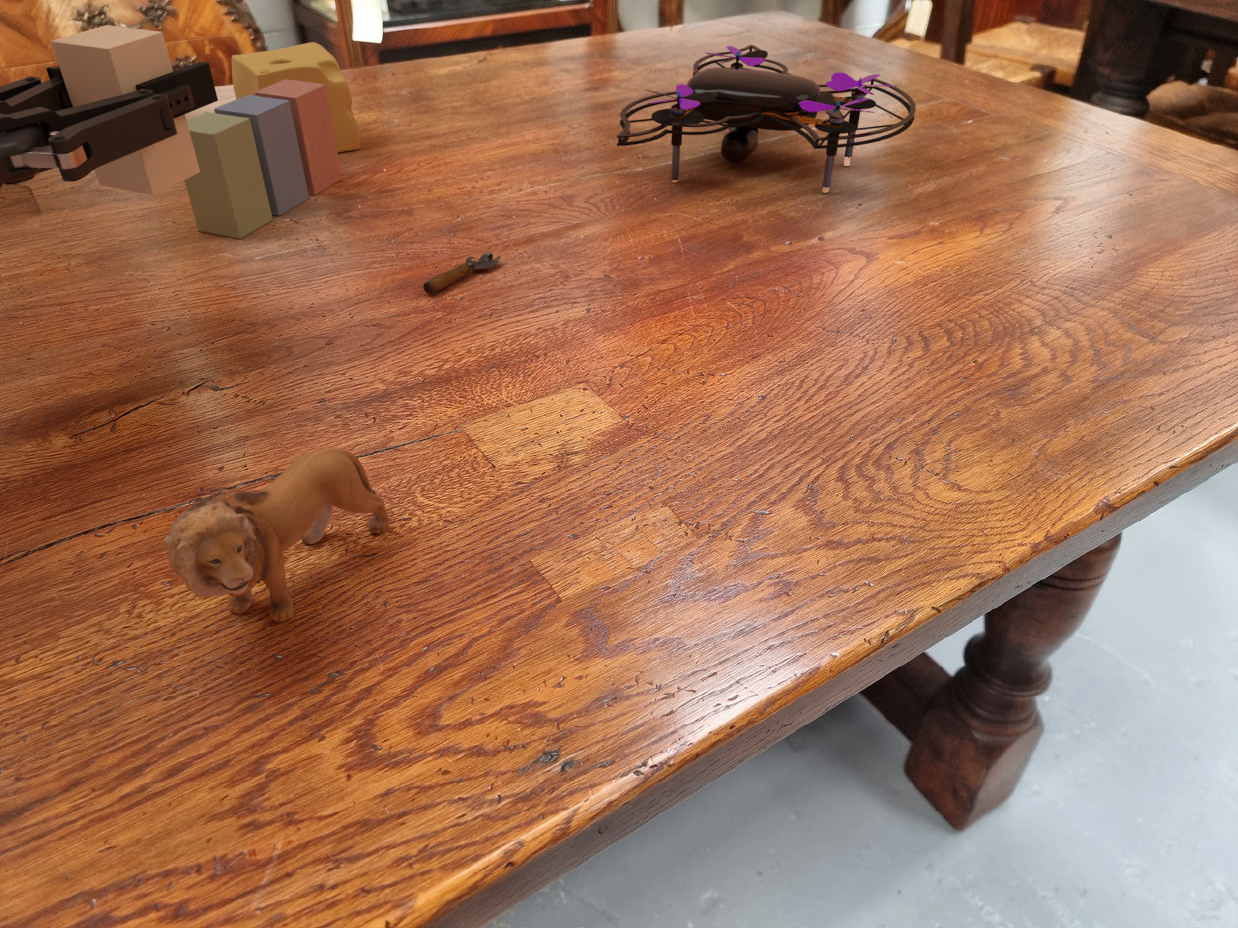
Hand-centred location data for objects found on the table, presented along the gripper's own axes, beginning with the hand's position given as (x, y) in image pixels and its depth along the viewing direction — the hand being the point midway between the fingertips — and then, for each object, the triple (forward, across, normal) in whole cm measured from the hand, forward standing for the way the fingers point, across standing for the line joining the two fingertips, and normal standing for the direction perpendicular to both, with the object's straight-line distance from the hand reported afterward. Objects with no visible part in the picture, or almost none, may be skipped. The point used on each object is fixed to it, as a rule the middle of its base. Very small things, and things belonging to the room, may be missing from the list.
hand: (178, 77), depth 70 cm
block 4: (+23, -9, -18) cm, 30 cm away
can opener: (+9, +18, -18) cm, 27 cm away
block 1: (-5, 0, -6) cm, 8 cm away
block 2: (+11, -9, -18) cm, 23 cm away
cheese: (+33, -17, -18) cm, 41 cm away
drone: (+47, +37, -18) cm, 63 cm away
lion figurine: (-28, +27, -18) cm, 43 cm away
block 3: (+17, -9, -18) cm, 26 cm away
